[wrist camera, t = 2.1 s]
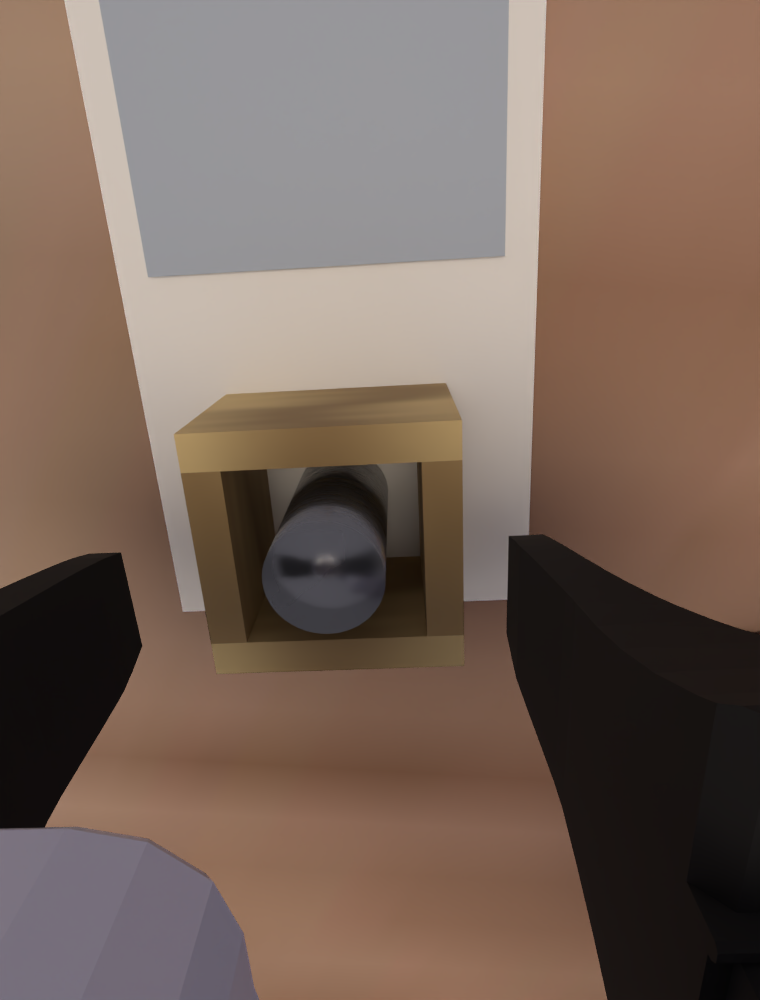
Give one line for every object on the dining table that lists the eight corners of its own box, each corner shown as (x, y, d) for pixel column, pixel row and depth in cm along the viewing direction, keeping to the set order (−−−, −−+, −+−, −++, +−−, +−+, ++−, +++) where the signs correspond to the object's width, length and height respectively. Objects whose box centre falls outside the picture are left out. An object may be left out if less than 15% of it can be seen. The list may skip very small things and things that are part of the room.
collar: (445, 382, 16) (462, 419, 12) (449, 580, 17) (464, 665, 14) (226, 394, 16) (173, 434, 12) (254, 587, 18) (216, 673, 14)
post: (386, 437, 17) (382, 521, 11) (390, 517, 18) (388, 631, 12) (300, 441, 17) (254, 526, 12) (308, 520, 18) (269, 635, 12)
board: (540, -157, 13) (555, -198, 11) (520, 582, 19) (528, 602, 17) (62, -115, 13) (30, -151, 12) (193, 594, 19) (180, 615, 18)
